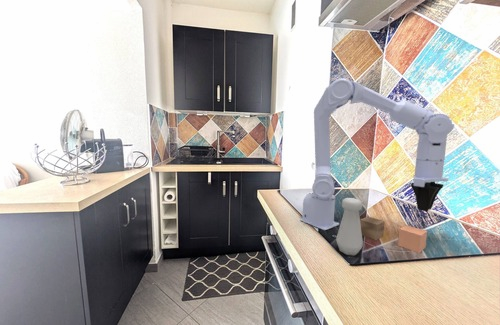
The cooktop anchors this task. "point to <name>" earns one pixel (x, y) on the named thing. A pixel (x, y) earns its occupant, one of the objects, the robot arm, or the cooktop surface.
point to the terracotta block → (412, 238)
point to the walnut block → (372, 228)
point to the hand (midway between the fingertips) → (424, 209)
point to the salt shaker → (350, 228)
